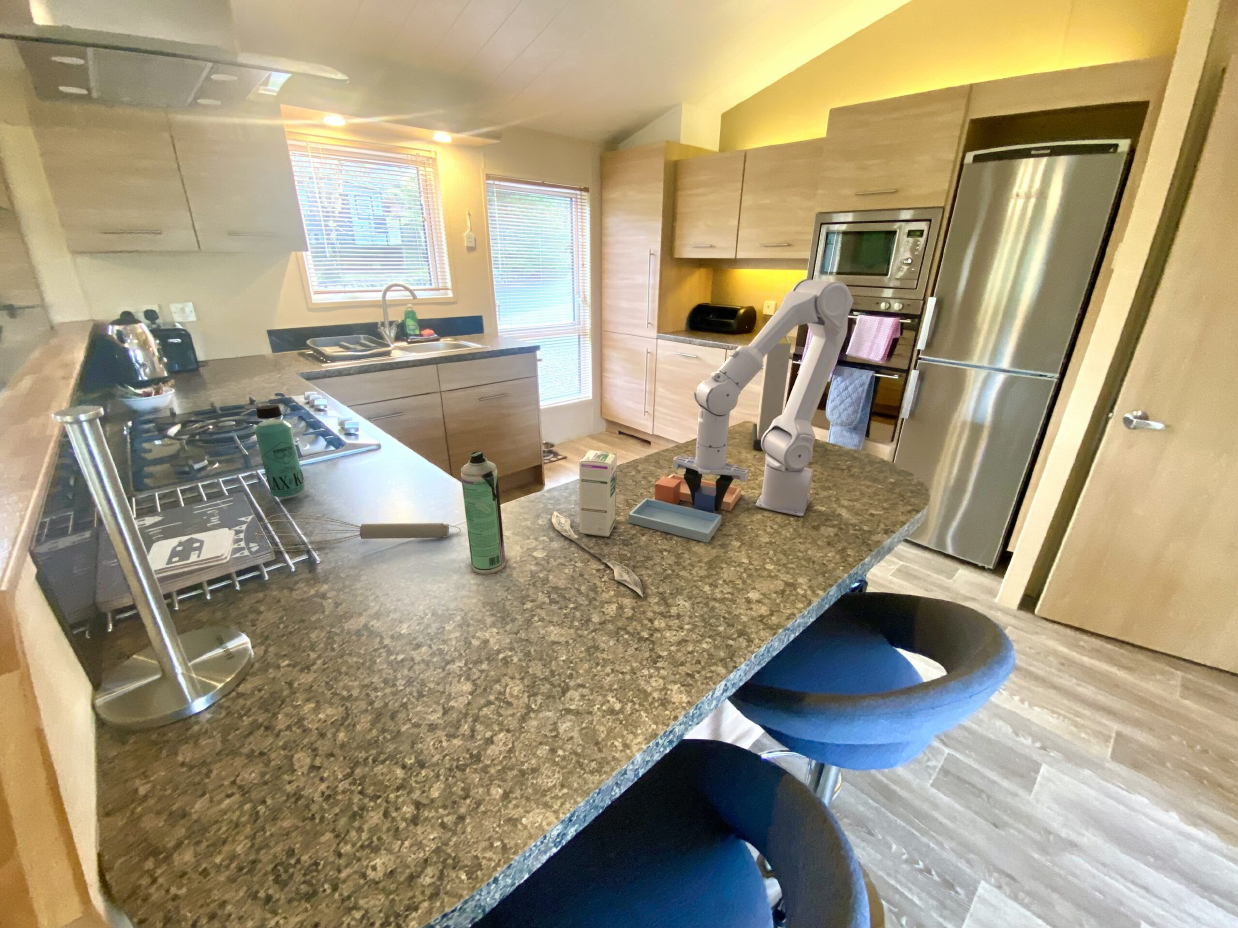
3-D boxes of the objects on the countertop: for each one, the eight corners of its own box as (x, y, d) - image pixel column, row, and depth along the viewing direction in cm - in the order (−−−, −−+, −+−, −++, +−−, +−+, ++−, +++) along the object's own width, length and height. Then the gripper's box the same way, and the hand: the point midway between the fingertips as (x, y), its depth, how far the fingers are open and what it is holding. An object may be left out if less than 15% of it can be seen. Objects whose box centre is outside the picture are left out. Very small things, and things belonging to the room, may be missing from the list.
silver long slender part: (556, 511, 103) (535, 518, 101) (556, 508, 103) (535, 515, 100) (664, 588, 80) (639, 600, 77) (664, 585, 80) (640, 597, 77)
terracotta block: (679, 502, 108) (680, 480, 106) (672, 509, 105) (673, 487, 103) (662, 498, 110) (662, 476, 108) (654, 505, 106) (655, 483, 105)
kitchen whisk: (459, 544, 92) (455, 512, 90) (253, 560, 87) (243, 527, 85) (463, 527, 98) (459, 497, 95) (270, 541, 93) (261, 510, 90)
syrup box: (609, 537, 94) (612, 463, 89) (578, 533, 95) (579, 459, 90) (615, 523, 99) (618, 452, 94) (586, 519, 100) (587, 449, 95)
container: (777, 443, 149) (790, 336, 142) (782, 455, 131) (796, 333, 125) (751, 441, 150) (762, 335, 144) (752, 452, 133) (765, 332, 126)
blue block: (719, 510, 104) (721, 488, 103) (712, 519, 101) (714, 496, 99) (700, 506, 106) (701, 484, 104) (693, 514, 103) (695, 492, 101)
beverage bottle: (264, 500, 107) (238, 408, 100) (294, 488, 113) (271, 399, 106) (286, 506, 105) (261, 412, 98) (315, 493, 111) (293, 403, 103)
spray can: (511, 559, 88) (502, 449, 80) (494, 576, 83) (482, 461, 75) (483, 553, 89) (472, 444, 82) (465, 570, 84) (450, 456, 77)
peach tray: (740, 495, 111) (741, 487, 110) (729, 511, 104) (730, 502, 104) (671, 481, 118) (671, 473, 117) (657, 494, 111) (657, 486, 111)
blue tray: (721, 523, 99) (721, 515, 99) (707, 542, 93) (708, 533, 92) (645, 505, 106) (646, 497, 106) (628, 522, 100) (628, 513, 99)
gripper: (668, 442, 98) (665, 506, 103) (743, 456, 92) (736, 523, 97) (681, 432, 104) (678, 493, 109) (753, 444, 97) (746, 508, 103)
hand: (706, 506), depth 103 cm, fingers closed on blue block, 4 cm apart
